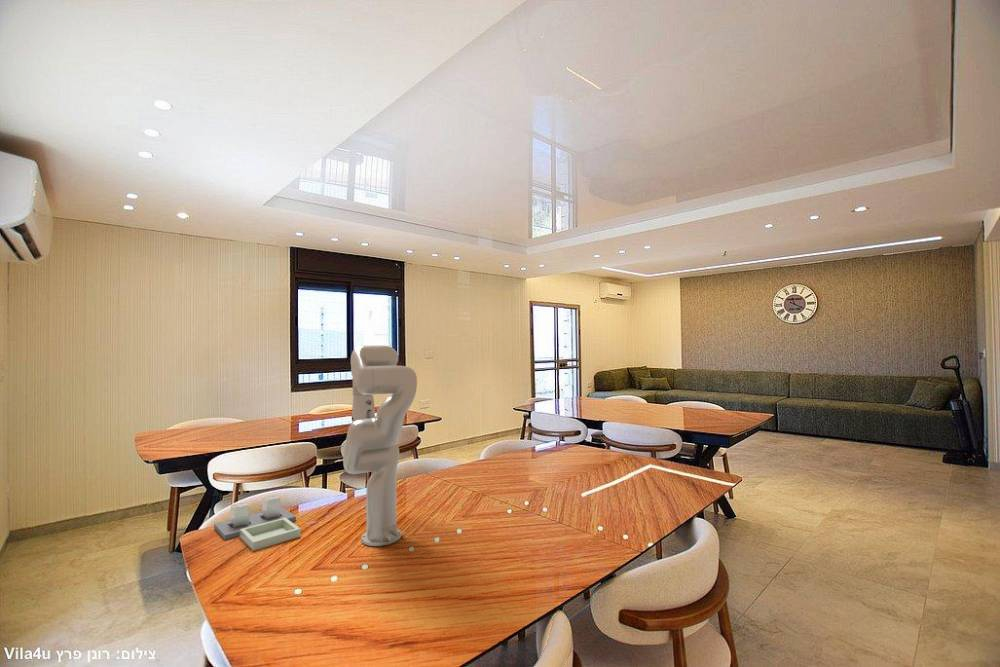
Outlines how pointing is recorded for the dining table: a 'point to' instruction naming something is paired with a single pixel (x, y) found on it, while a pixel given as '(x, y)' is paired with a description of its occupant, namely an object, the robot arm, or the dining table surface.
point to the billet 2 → (271, 507)
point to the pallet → (254, 519)
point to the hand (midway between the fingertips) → (362, 435)
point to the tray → (269, 533)
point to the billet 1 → (239, 515)
